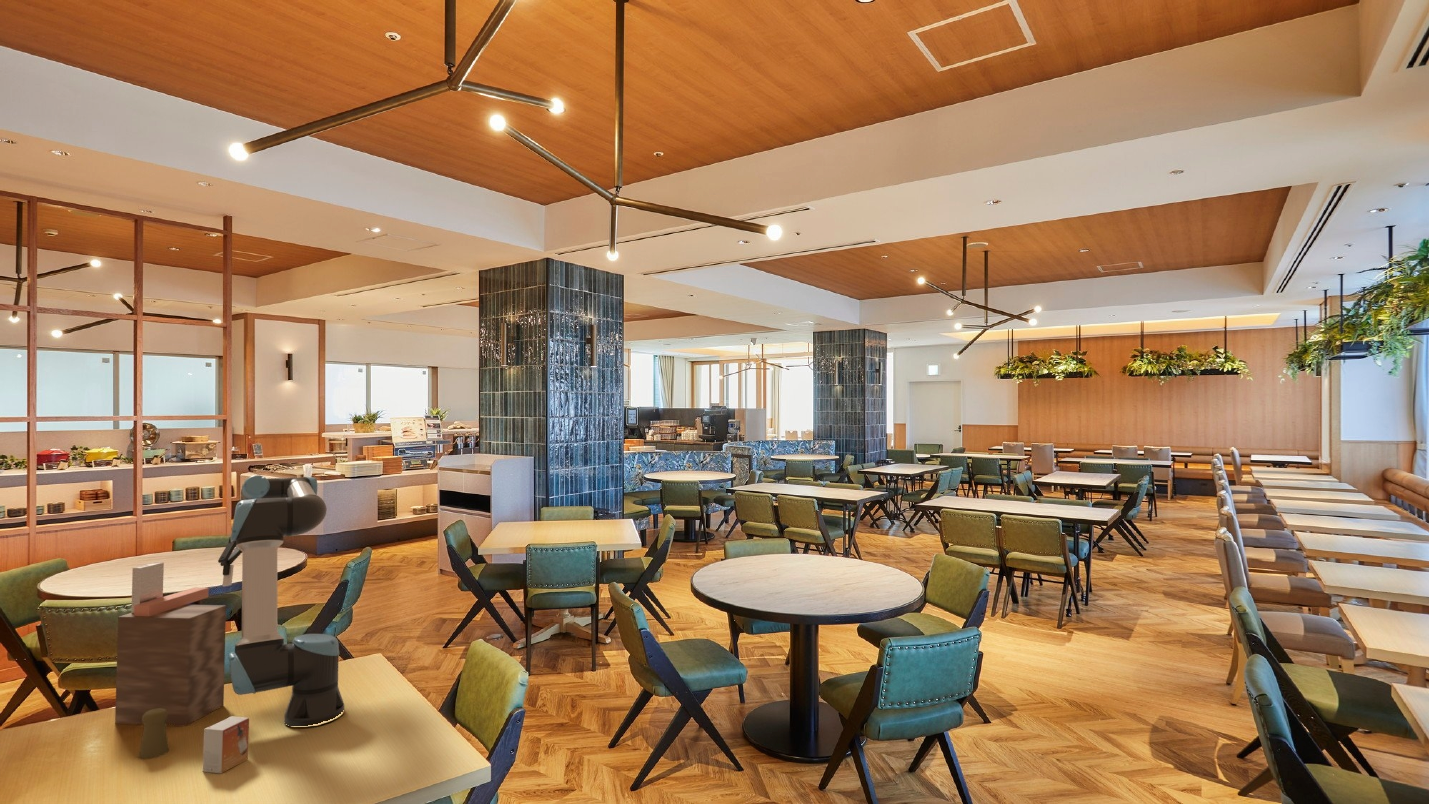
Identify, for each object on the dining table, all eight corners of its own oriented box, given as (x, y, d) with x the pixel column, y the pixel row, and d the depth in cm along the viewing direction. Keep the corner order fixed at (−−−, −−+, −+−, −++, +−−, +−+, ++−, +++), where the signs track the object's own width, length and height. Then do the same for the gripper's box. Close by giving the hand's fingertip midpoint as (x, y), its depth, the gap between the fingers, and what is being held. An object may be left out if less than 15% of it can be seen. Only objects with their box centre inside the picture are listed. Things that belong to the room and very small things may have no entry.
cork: (174, 750, 183) (175, 707, 184) (149, 760, 178) (150, 716, 178) (158, 746, 185) (159, 704, 186) (133, 756, 180) (134, 713, 180)
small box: (221, 774, 171) (222, 730, 171) (201, 772, 172) (202, 728, 172) (249, 759, 179) (250, 717, 179) (230, 757, 180) (231, 715, 180)
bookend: (154, 605, 212) (155, 562, 212) (162, 606, 212) (163, 562, 212) (131, 613, 204) (132, 567, 204) (139, 613, 204) (140, 568, 204)
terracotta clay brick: (194, 596, 223) (195, 587, 223) (208, 597, 222) (208, 587, 222) (133, 616, 201) (134, 605, 201) (149, 616, 200) (149, 605, 201)
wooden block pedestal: (156, 703, 213) (159, 604, 214) (223, 705, 212) (226, 605, 213) (115, 723, 199) (118, 616, 200) (186, 725, 198) (189, 618, 199)
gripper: (269, 534, 255) (263, 594, 247) (210, 520, 232) (201, 585, 224) (287, 530, 254) (282, 590, 246) (229, 516, 231) (222, 581, 223)
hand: (244, 588), depth 235 cm, fingers open, 13 cm apart
